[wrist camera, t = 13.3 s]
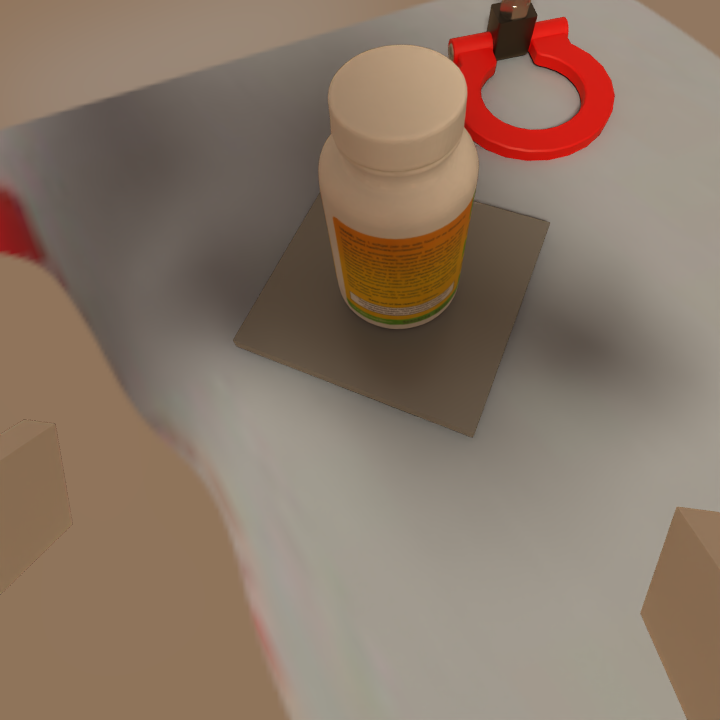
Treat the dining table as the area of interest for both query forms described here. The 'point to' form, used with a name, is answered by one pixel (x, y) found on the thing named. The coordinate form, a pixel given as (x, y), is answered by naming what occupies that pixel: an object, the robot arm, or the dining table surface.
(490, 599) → the dining table surface
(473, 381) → the coaster
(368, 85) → the supplement bottle
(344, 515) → the dining table surface
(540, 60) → the tow hook
